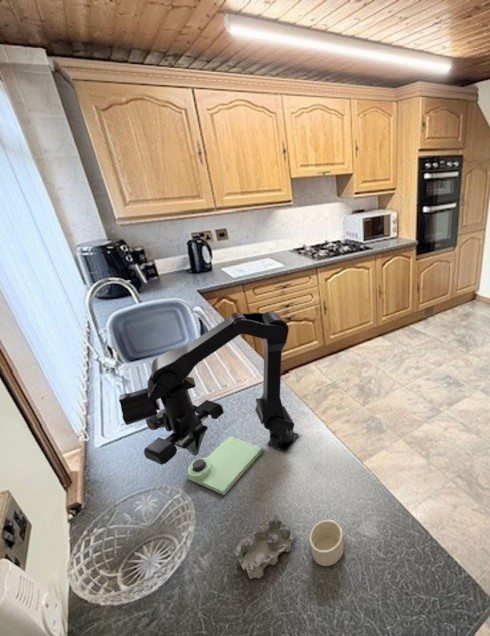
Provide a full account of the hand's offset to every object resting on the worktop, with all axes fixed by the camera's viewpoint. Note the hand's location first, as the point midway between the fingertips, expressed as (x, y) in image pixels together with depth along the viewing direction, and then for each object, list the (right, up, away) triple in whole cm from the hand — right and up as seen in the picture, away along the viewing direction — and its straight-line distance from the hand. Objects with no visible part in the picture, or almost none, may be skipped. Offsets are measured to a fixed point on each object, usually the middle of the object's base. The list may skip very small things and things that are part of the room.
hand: (195, 454), depth 88 cm
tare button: (0, -4, +2) cm, 5 cm away
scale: (+6, -5, +6) cm, 10 cm away
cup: (+35, -14, -15) cm, 41 cm away
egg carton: (+22, -15, -15) cm, 31 cm away
